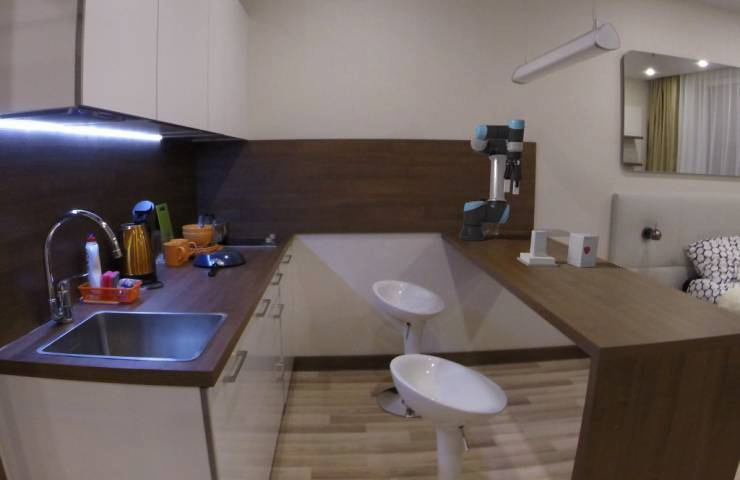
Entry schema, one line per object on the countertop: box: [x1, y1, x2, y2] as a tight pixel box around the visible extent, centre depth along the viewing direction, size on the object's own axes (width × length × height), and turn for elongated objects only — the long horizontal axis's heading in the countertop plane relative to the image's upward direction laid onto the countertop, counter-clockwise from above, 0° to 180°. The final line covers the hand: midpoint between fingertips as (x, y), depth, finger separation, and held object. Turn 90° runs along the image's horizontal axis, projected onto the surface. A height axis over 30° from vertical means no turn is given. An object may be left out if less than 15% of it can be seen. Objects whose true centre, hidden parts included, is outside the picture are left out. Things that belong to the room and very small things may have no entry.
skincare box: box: [529, 230, 549, 256], centre depth 202 cm, size 6×4×12 cm
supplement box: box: [566, 232, 600, 268], centre depth 200 cm, size 9×9×15 cm
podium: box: [516, 252, 559, 268], centre depth 203 cm, size 14×14×4 cm
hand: (510, 193), depth 218 cm, fingers open, 13 cm apart
